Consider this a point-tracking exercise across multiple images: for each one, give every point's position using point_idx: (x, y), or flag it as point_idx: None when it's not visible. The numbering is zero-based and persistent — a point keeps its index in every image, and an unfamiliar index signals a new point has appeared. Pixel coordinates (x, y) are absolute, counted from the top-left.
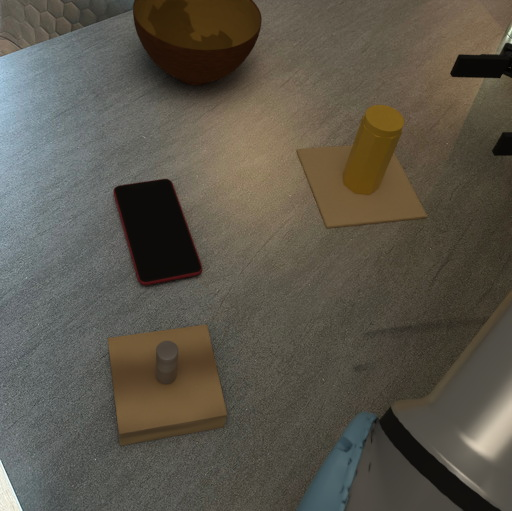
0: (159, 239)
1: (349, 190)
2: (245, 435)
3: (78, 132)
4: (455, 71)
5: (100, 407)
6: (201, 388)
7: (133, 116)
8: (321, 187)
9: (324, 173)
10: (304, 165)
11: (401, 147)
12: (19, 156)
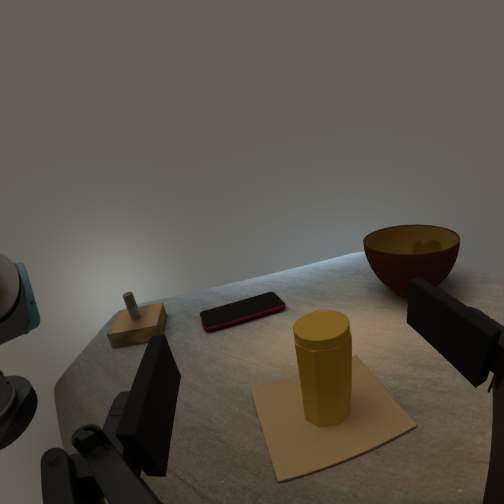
0: (231, 311)
1: None
2: (105, 354)
3: (319, 277)
4: (408, 310)
5: None
6: (123, 326)
7: (345, 285)
8: None
9: None
10: None
11: (419, 442)
12: (292, 271)
